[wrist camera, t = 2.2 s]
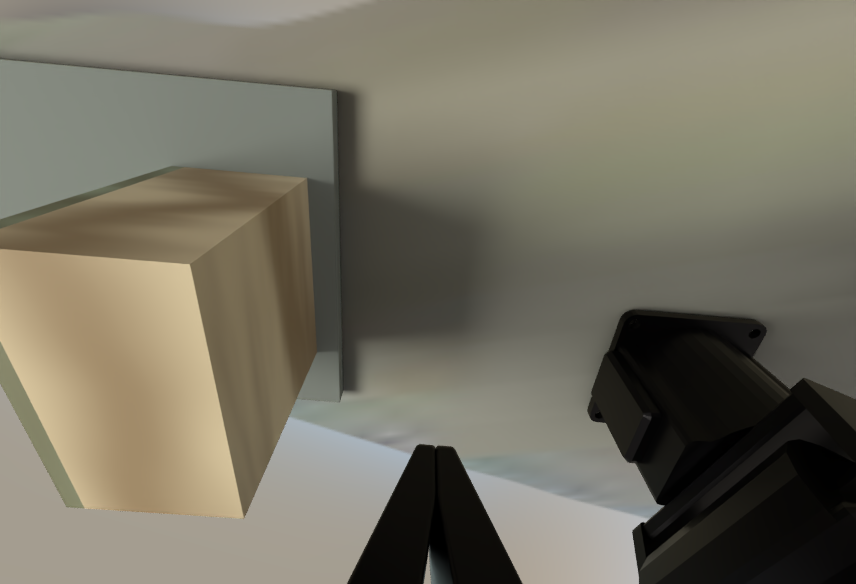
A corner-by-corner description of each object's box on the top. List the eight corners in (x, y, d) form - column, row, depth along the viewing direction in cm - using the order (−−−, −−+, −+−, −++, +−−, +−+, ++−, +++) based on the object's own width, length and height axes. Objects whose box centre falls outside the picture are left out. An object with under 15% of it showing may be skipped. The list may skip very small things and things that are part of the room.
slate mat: (336, 89, 14) (331, 90, 13) (342, 391, 21) (339, 402, 20) (-128, 46, 14) (-158, 44, 13) (28, 368, 20) (13, 378, 20)
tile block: (306, 177, 15) (189, 264, 8) (317, 352, 19) (243, 518, 11) (170, 166, 15) (-75, 243, 8) (208, 343, 18) (66, 507, 11)
